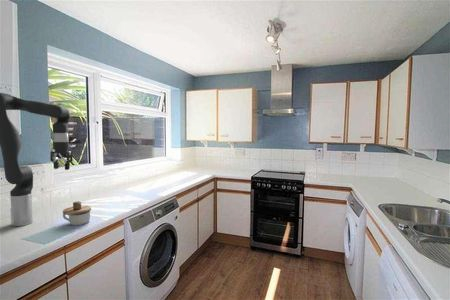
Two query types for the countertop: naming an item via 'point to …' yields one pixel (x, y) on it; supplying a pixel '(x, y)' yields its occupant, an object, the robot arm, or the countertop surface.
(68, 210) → the lid
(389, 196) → the countertop surface
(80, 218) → the teacup
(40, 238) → the mat
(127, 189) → the countertop surface
